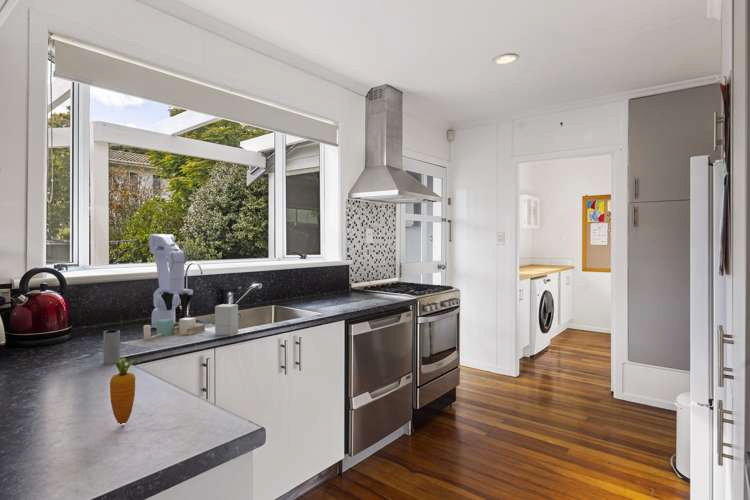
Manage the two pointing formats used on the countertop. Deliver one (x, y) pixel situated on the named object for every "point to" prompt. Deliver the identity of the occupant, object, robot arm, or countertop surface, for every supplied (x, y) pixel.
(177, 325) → the lane shelf
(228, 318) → the supplement box
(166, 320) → the strung block
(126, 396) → the carrot
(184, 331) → the plain block
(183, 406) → the countertop surface
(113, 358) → the planter
